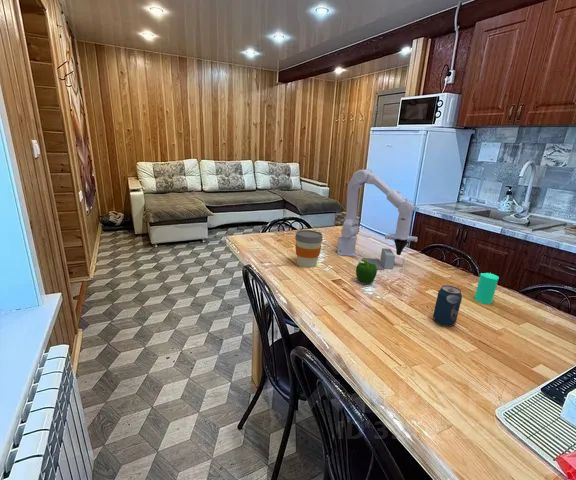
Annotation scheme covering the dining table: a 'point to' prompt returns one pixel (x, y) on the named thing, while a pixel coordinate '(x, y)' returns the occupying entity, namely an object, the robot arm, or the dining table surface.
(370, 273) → the bell pepper
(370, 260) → the flat gray panel
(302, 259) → the reusable coffee cup
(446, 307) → the soda can
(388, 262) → the slab
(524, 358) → the dining table surface
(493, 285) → the candle
